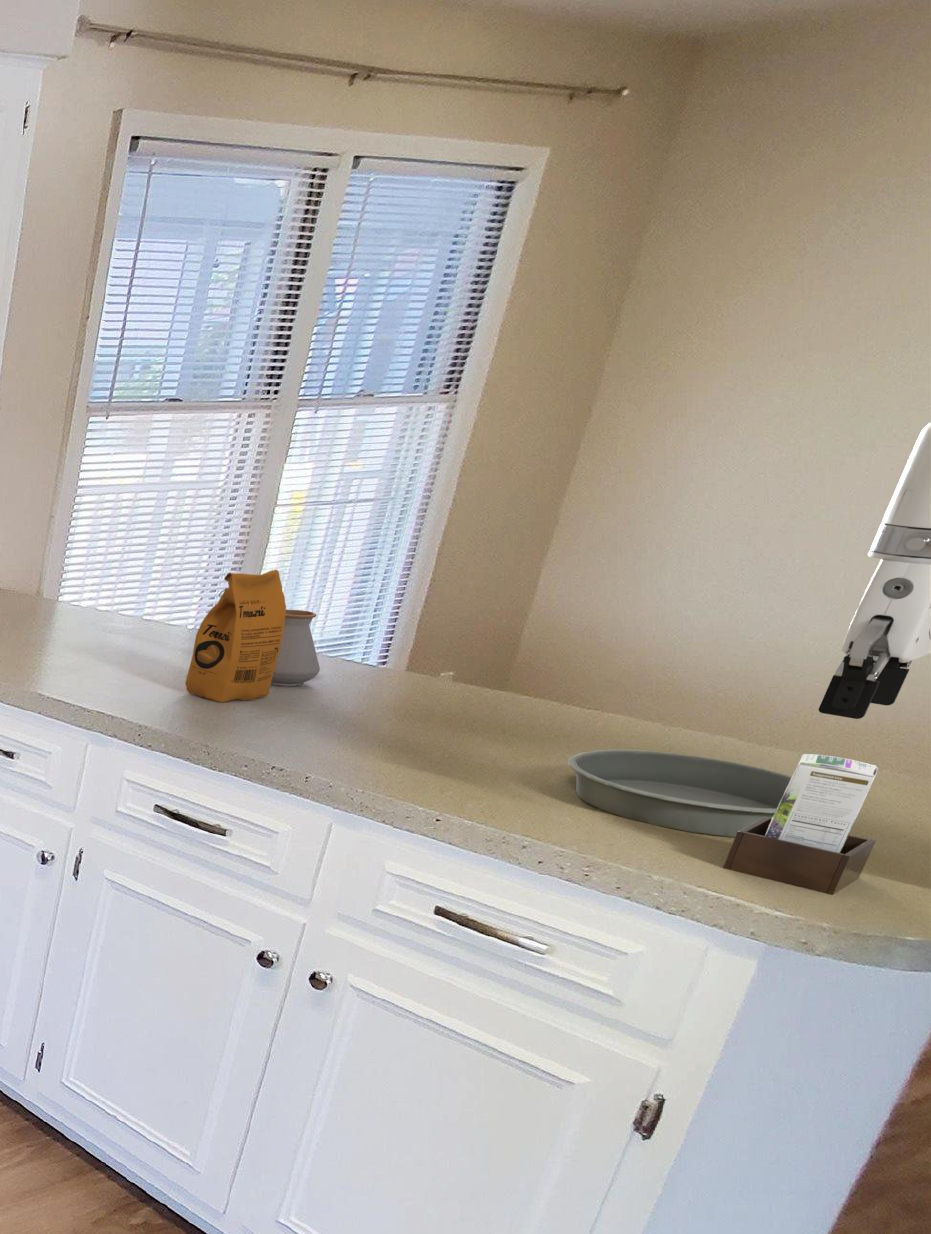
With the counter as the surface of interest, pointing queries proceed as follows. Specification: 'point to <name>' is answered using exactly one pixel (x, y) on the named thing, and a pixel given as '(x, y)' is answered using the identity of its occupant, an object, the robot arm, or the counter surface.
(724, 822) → the cake pan
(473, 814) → the counter surface
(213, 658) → the coffee package
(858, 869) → the caddy
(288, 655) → the coffee pot
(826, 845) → the syrup box
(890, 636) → the robot arm
